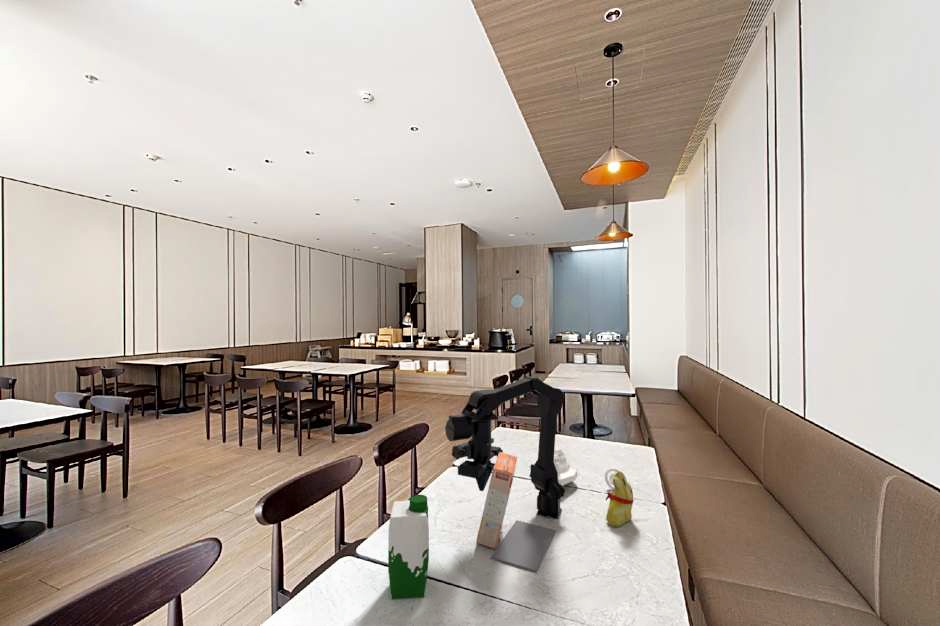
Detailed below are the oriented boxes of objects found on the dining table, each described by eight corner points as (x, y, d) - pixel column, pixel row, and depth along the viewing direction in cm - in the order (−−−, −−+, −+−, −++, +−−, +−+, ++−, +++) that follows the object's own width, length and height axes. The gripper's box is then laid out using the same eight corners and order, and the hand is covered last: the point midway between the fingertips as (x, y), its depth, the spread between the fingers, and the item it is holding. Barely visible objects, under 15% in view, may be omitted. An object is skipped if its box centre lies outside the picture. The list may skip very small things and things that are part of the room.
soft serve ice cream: (534, 491, 140) (528, 450, 144) (558, 482, 150) (552, 445, 154) (563, 492, 131) (556, 449, 135) (586, 484, 141) (579, 444, 145)
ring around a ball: (629, 492, 135) (628, 469, 135) (622, 498, 131) (622, 474, 131) (607, 485, 140) (607, 464, 141) (600, 490, 136) (600, 468, 137)
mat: (556, 531, 110) (556, 529, 110) (536, 572, 92) (536, 570, 92) (516, 521, 115) (516, 520, 115) (490, 558, 97) (490, 556, 97)
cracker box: (497, 550, 101) (514, 474, 100) (475, 543, 102) (491, 467, 101) (503, 523, 114) (518, 456, 114) (483, 516, 116) (498, 450, 115)
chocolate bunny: (638, 519, 117) (638, 469, 117) (617, 530, 110) (617, 478, 111) (618, 510, 122) (618, 463, 123) (597, 520, 116) (597, 470, 116)
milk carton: (428, 600, 83) (428, 507, 83) (385, 603, 82) (386, 509, 82) (429, 573, 91) (429, 489, 92) (390, 576, 91) (391, 491, 91)
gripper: (470, 424, 122) (471, 473, 122) (440, 441, 105) (440, 498, 105) (503, 429, 117) (503, 480, 117) (477, 447, 100) (477, 507, 100)
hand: (481, 490), depth 110 cm, fingers closed
